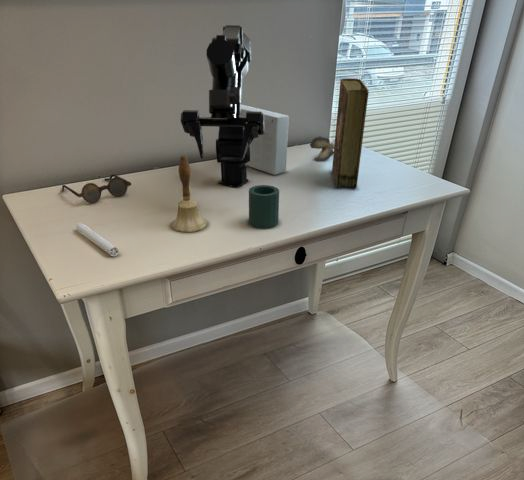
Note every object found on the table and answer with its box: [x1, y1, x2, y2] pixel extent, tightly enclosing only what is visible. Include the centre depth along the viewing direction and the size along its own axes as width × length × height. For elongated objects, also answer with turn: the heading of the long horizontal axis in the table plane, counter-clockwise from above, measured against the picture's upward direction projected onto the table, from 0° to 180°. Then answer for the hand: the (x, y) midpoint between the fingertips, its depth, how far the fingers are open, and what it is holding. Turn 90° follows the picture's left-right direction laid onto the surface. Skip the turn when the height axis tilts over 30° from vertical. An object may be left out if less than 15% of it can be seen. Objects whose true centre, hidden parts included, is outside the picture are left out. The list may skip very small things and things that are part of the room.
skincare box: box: [241, 104, 290, 176], centre depth 149 cm, size 21×6×16 cm, turn 43°
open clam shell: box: [309, 136, 335, 162], centre depth 160 cm, size 8×7×9 cm
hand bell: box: [171, 155, 208, 233], centre depth 113 cm, size 8×8×16 cm
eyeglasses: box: [61, 173, 132, 204], centre depth 133 cm, size 15×15×5 cm
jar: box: [248, 184, 280, 230], centre depth 117 cm, size 7×7×8 cm
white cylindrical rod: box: [75, 222, 120, 257], centre depth 110 cm, size 18×2×2 cm, turn 41°
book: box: [331, 78, 370, 189], centre depth 137 cm, size 16×6×25 cm, turn 179°
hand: (221, 158), depth 113 cm, fingers open, 9 cm apart
